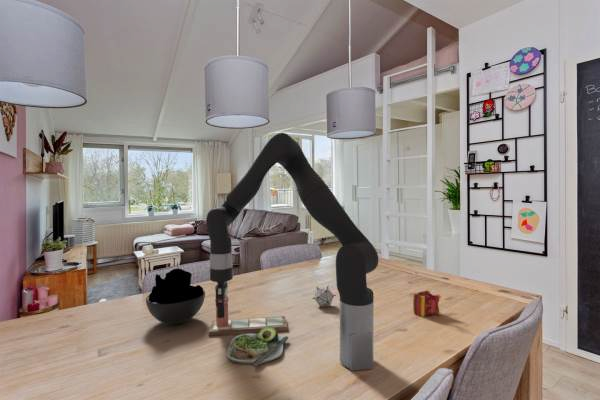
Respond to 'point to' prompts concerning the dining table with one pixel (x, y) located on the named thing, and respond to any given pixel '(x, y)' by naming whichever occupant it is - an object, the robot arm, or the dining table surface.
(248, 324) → the board
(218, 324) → the pawn
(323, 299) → the game die
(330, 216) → the robot arm
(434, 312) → the book monster
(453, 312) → the dining table surface
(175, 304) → the coal bowl
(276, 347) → the salad plate
